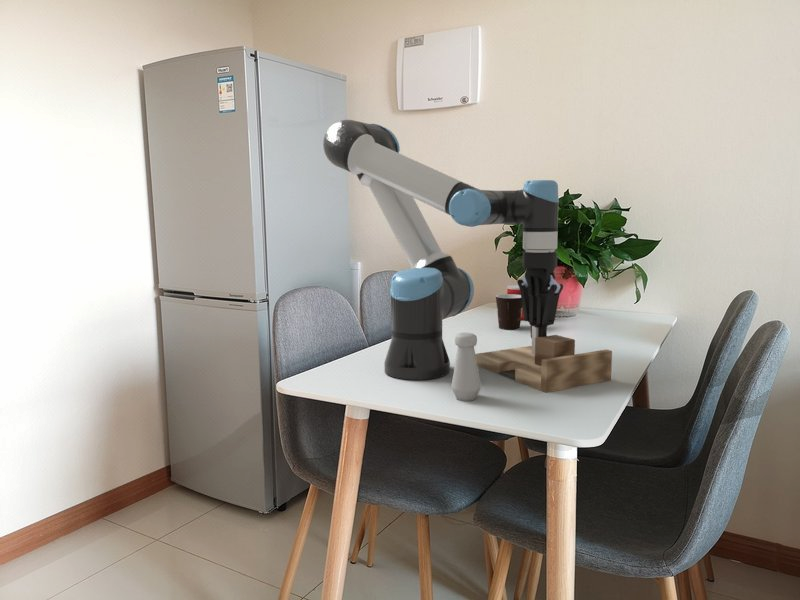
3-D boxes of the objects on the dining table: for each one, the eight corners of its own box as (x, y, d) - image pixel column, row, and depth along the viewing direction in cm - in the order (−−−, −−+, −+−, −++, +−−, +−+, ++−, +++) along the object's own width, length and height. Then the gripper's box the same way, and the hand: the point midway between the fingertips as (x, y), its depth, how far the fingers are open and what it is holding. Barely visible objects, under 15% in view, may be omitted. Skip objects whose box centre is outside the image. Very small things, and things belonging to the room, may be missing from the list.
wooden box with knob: (545, 392, 123) (546, 361, 122) (473, 364, 146) (474, 337, 145) (610, 380, 131) (612, 350, 130) (533, 355, 154) (533, 330, 153)
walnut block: (553, 370, 131) (554, 342, 130) (534, 364, 136) (535, 337, 135) (574, 366, 134) (575, 339, 133) (555, 360, 139) (555, 334, 138)
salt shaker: (469, 391, 125) (470, 329, 123) (486, 399, 120) (487, 334, 118) (445, 396, 122) (445, 332, 120) (461, 404, 117) (461, 337, 115)
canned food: (533, 320, 202) (533, 287, 200) (509, 320, 201) (509, 287, 200) (528, 316, 209) (528, 284, 207) (505, 316, 209) (505, 285, 207)
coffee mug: (504, 324, 196) (504, 293, 194) (528, 327, 190) (529, 295, 189) (484, 330, 187) (485, 297, 185) (509, 333, 181) (510, 300, 180)
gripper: (573, 251, 131) (570, 357, 135) (534, 248, 143) (532, 346, 146) (546, 253, 128) (544, 362, 132) (508, 249, 139) (507, 350, 143)
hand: (538, 353), depth 139 cm, fingers closed
